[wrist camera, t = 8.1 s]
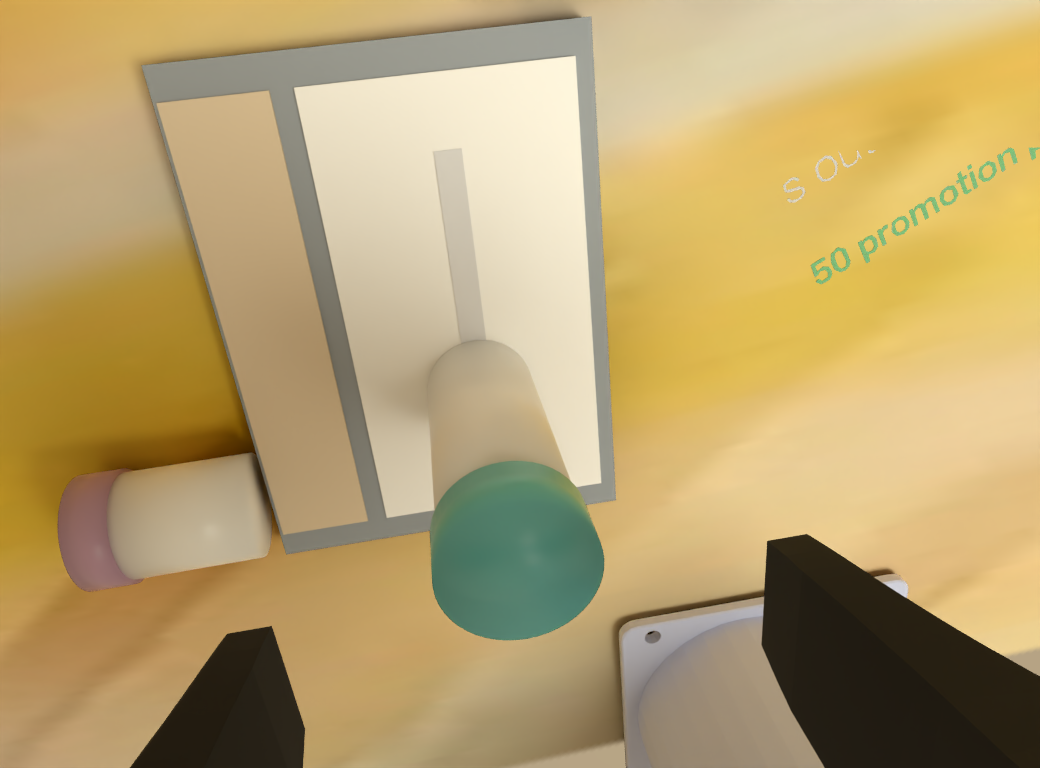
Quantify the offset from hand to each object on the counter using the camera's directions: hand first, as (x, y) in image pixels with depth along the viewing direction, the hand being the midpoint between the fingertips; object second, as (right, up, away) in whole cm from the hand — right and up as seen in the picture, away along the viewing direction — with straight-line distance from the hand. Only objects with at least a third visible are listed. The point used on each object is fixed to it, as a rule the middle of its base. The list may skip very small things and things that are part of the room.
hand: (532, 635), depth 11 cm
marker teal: (-1, +4, +7) cm, 8 cm away
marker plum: (-7, +1, +8) cm, 10 cm away
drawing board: (-3, +6, +7) cm, 10 cm away
